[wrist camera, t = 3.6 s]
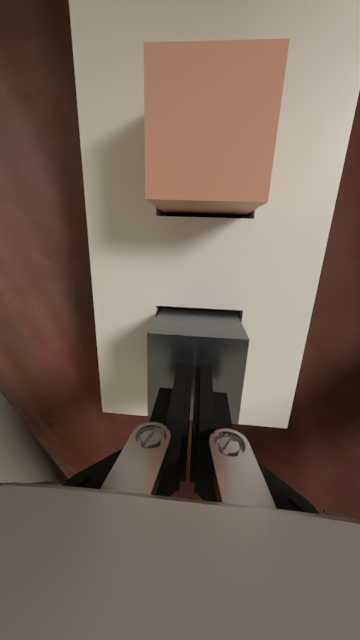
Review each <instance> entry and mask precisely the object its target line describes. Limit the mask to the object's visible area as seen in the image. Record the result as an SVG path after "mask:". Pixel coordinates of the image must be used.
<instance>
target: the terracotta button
mask: <svg viewBox="0 0 360 640" xmlns="http://www.w3.org/2000/svg"><path fill="white" fill-rule="evenodd" d="M289 40H290V39H254V40H214V41H175V42H144V125H145V199H146V200H147V201H149V202H150V203H151V204H153V205H154V206H156V207H157V208H158V209H160V210H161V211H163V212H176V213H213V214H248V213H250V212H252V211H253V210H255V209H257V208H258V207H260V206H262V205H264V204H265V203H267V202H268V197H269V190H270V182H271V175H272V167H273V160H274V152H275V145H276V137H277V130H278V122H279V115H280V107H281V100H282V92H283V85H284V77H285V70H286V62H287V55H288V47H289Z"/></svg>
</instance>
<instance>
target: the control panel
mask: <svg viewBox="0 0 360 640" xmlns="http://www.w3.org/2000/svg"><path fill="white" fill-rule="evenodd" d="M69 10H70V22H71V34H72V47H73V59H74V71H75V83H76V95H77V108H78V120H79V132H80V144H81V156H82V169H83V181H84V193H85V205H86V217H87V229H88V242H89V254H90V266H91V278H92V290H93V303H94V315H95V327H96V339H97V351H98V364H99V376H100V388H101V400H102V412H108V413H120V414H131V415H142V416H148V397H147V332H148V330H149V329H150V327H151V325H152V324H153V322H154V320H155V319H156V317H157V315H158V314H159V312H160V310H161V309H162V307H165V306H170V307H188V308H206V309H224V310H234V311H236V312H237V314H238V316H239V318H240V321H241V323H242V325H243V327H244V329H245V331H246V333H247V336H248V338H249V347H248V354H247V362H246V369H245V377H244V384H243V392H242V399H241V407H240V414H239V422H238V424H243V425H254V426H265V427H276V428H287V427H288V422H289V418H290V413H291V408H292V404H293V399H294V394H295V390H296V385H297V380H298V375H299V371H300V366H301V361H302V357H303V352H304V347H305V343H306V338H307V333H308V329H309V324H310V319H311V315H312V310H313V305H314V301H315V296H316V291H317V287H318V282H319V277H320V272H321V268H322V263H323V258H324V254H325V249H326V244H327V240H328V235H329V230H330V226H331V221H332V216H333V212H334V207H335V202H336V198H337V193H338V188H339V184H340V179H341V174H342V169H343V165H344V160H345V155H346V151H347V146H348V141H349V137H350V132H351V127H352V123H353V118H354V113H355V109H356V104H357V99H358V95H359V90H360V0H69ZM254 39H290V40H289V47H288V55H287V62H286V70H285V77H284V85H283V92H282V100H281V107H280V115H279V122H278V130H277V137H276V145H275V152H274V160H273V167H272V175H271V182H270V190H269V197H268V202H267V203H265V204H264V205H262V206H260V207H258V208H257V209H255V210H253V211H252V212H250V213H248V214H244V218H210V217H175V216H166V212H163V211H161V210H160V209H158V208H157V207H156V206H154V205H153V204H151V203H150V202H149V201H147V200H146V199H145V125H144V42H175V41H214V40H254Z"/></svg>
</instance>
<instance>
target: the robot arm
mask: <svg viewBox="0 0 360 640" xmlns="http://www.w3.org/2000/svg"><path fill="white" fill-rule="evenodd" d="M191 385H192V367H191V366H188V363H178V364H177V368H176V373H175V378H174V383H173V388H161V387H160V388H159V391H158V394H157V398H156V401H155V405H154V408H153V412H152V415H151V418H150V422H148V423H144V424H141V425H139V426H138V427H137V428H135V430H134V431H133V432H132V434H131V436H130V437H129V439H128V441H127V443H126V444H125V446H124V448H122V449H121V450H119V451H117V452H115V453H113V454H112V455H110V456H108V457H106V458H104V459H103V460H101V461H99V462H97V463H95V464H94V465H92V466H90V467H88V468H86V469H85V470H83V471H81V472H79V473H77V474H75V475H74V476H72V477H71V478H70V479H68V480H67V481H66V482H65V483H62V484H60V483H59V480H54V481H45V482H37V483H15V482H11V483H0V640H360V520H357V519H354V518H351V517H348V516H344V515H341V514H338V513H335V512H332V511H329V510H326V509H324V511H323V513H322V512H319V511H317V510H316V508H315V507H314V506H313V505H312V504H311V503H310V502H309V501H308V500H306V499H305V498H304V497H303V496H301V495H300V494H299V493H297V492H296V491H295V490H294V489H292V488H291V487H290V486H288V485H287V484H286V483H284V482H283V481H282V480H281V479H279V478H278V477H277V476H275V475H274V474H273V473H272V472H270V471H269V470H268V469H266V468H265V467H264V466H263V465H261V464H260V463H259V462H257V461H256V458H255V456H254V453H253V451H252V449H251V446H250V444H249V442H248V440H247V439H246V437H244V436H243V435H242V434H241V433H239V432H237V431H235V430H233V428H232V421H231V415H230V409H229V403H228V397H227V393H225V392H213V382H212V368H211V365H203V364H200V367H196V374H195V391H194V407H193V425H192V445H191V464H190V482H195V492H196V493H198V495H199V496H200V497H201V498H202V499H203V500H204V501H203V500H194V499H185V498H176V497H169V496H170V495H172V494H173V493H174V492H175V491H179V486H180V481H185V477H186V462H187V448H188V434H189V420H190V403H191Z"/></svg>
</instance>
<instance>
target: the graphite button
mask: <svg viewBox="0 0 360 640" xmlns="http://www.w3.org/2000/svg"><path fill="white" fill-rule="evenodd" d="M248 347H249V338H248V336H247V333H246V331H245V329H244V327H243V325H242V323H241V321H240V318H239V316H238V314H237V312H236V311H229V310H211V309H193V308H175V307H162V309H161V310H160V312H159V314H158V315H157V317H156V319H155V320H154V322H153V324H152V325H151V327H150V329H149V330H148V332H147V397H148V416H151V415H152V412H153V408H154V405H155V401H156V398H157V394H158V391H159V388H160V387H161V388H173V383H174V378H175V373H176V368H177V364H178V363H188V366H191V367H192V385H191V403H190V420H193V407H194V391H195V374H196V367H200V364H203V365H211V368H212V382H213V392H225V393H227V397H228V403H229V409H230V415H231V421H232V424H238V422H239V414H240V407H241V399H242V392H243V384H244V377H245V369H246V362H247V354H248Z"/></svg>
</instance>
